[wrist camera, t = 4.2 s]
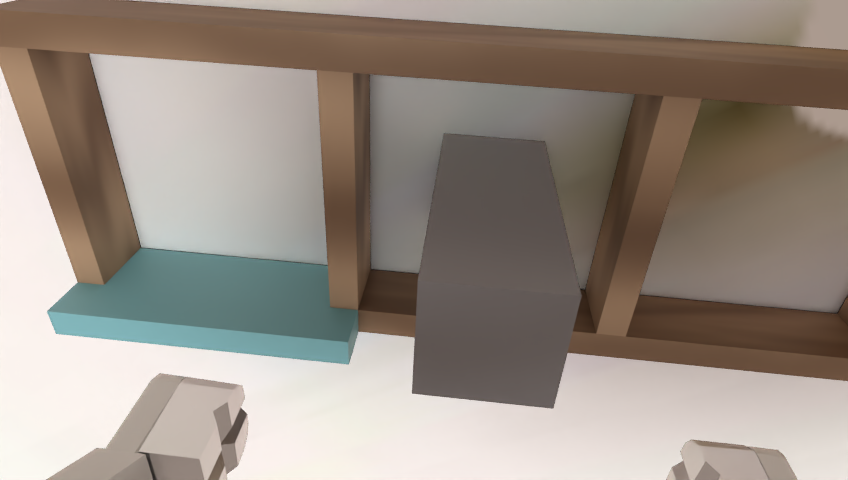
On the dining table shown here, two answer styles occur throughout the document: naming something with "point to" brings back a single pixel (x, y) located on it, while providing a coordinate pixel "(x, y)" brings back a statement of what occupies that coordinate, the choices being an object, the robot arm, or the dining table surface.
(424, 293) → the tall grey block
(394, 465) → the dining table surface
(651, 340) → the rack
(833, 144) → the dining table surface
